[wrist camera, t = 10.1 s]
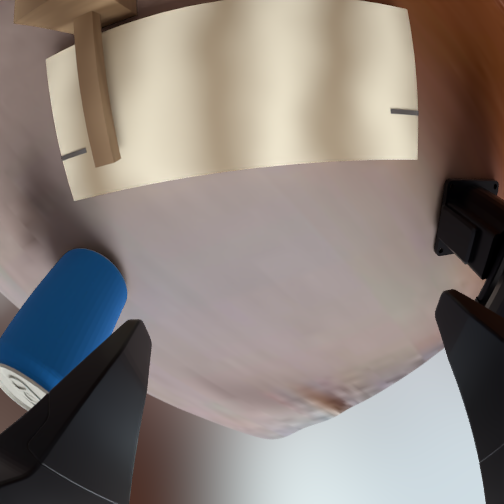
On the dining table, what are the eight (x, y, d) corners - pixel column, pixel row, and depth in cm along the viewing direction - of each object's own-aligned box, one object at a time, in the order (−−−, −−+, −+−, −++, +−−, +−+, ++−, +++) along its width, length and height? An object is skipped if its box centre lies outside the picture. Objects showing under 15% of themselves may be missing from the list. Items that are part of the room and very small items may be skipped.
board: (395, 14, 12) (407, 9, 10) (405, 154, 17) (417, 159, 15) (59, 60, 12) (45, 59, 11) (85, 193, 17) (73, 201, 16)
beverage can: (86, 312, 23) (34, 421, 12) (51, 253, 20) (-30, 357, 9) (143, 302, 22) (98, 434, 12) (107, 234, 19) (20, 361, 9)
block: (134, -21, 10) (85, -62, 4) (156, 145, 16) (108, 176, 10) (80, 1, 10) (17, -21, 4) (101, 159, 16) (39, 196, 10)
